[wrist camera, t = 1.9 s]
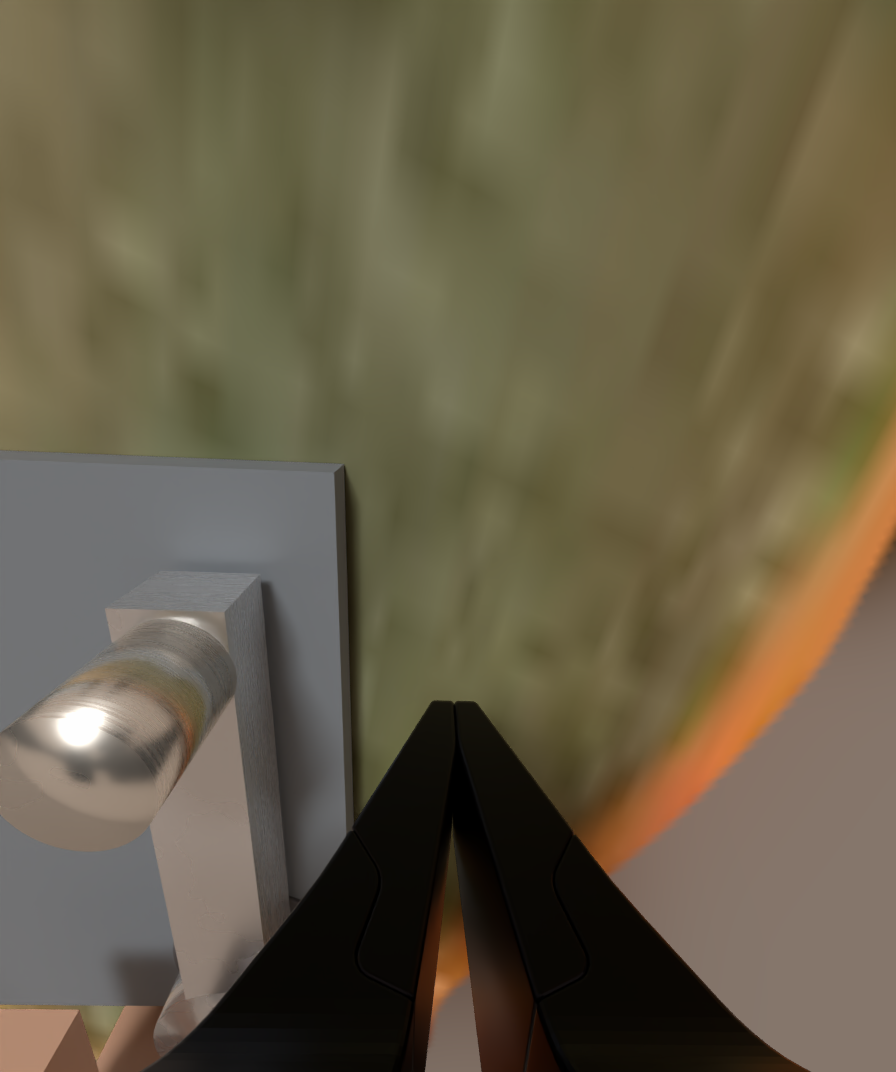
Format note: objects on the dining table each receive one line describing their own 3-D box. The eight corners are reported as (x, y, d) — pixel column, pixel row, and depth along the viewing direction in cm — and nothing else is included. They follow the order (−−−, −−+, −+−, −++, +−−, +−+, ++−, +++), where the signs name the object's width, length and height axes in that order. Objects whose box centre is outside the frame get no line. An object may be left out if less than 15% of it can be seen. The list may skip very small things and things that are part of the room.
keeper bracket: (140, 1022, 19) (30, 1258, 14) (96, 853, 16) (-65, 1072, 11) (201, 1023, 20) (113, 1258, 14) (168, 854, 17) (43, 1073, 11)
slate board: (-113, 963, 18) (-156, 1010, 17) (-375, 435, 12) (-479, 442, 11) (357, 969, 19) (351, 1014, 17) (343, 464, 12) (332, 474, 11)
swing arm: (333, 1013, 17) (290, 1260, 12) (197, 1011, 17) (100, 1261, 12) (309, 575, 12) (217, 711, 7) (110, 568, 11) (-125, 702, 7)
